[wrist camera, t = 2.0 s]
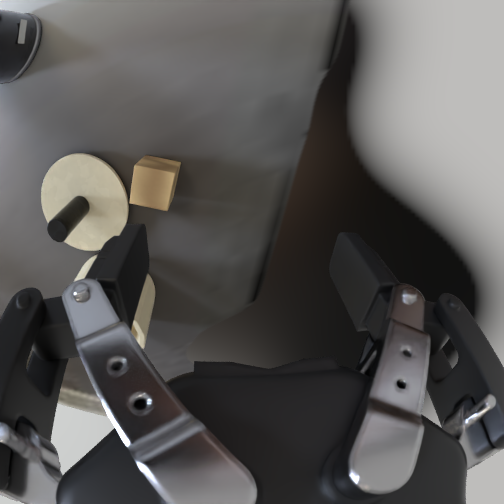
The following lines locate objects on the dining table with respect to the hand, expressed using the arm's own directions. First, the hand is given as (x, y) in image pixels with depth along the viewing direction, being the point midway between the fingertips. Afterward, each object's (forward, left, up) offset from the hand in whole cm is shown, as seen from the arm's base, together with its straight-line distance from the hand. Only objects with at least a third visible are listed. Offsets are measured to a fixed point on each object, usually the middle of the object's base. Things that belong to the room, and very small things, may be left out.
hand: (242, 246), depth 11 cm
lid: (-16, -10, -18) cm, 26 cm away
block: (-7, -5, -19) cm, 21 cm away
